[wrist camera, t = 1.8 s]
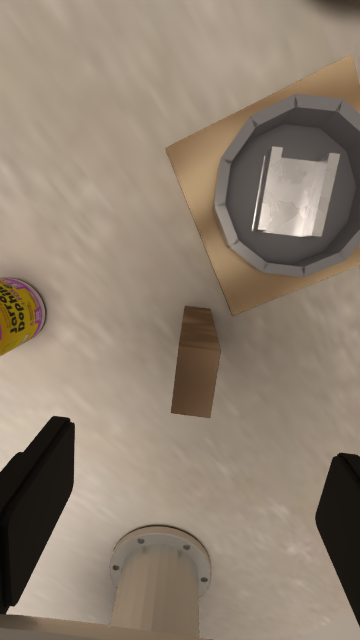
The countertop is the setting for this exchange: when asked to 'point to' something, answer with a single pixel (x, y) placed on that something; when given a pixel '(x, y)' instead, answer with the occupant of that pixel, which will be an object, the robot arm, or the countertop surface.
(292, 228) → the clip
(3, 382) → the countertop surface
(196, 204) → the cork mat
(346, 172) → the round grey dish
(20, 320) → the supplement bottle
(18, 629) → the robot arm
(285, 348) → the countertop surface
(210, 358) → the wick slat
